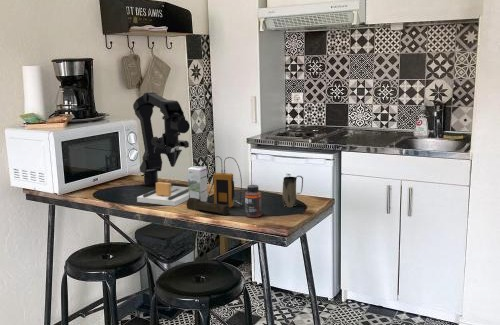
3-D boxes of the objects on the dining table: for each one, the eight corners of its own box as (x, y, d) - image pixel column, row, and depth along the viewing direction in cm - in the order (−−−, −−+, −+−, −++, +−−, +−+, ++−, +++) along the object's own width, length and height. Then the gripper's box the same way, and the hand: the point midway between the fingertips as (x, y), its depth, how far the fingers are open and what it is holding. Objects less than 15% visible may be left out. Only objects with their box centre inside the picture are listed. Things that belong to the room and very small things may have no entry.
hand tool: (230, 214, 190) (230, 202, 189) (224, 216, 186) (223, 204, 186) (191, 207, 200) (191, 195, 199) (184, 209, 197) (184, 197, 196)
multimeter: (248, 202, 205) (248, 153, 201) (240, 208, 195) (239, 157, 192) (215, 199, 209) (213, 151, 206) (205, 206, 200) (203, 156, 196)
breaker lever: (158, 193, 211) (158, 181, 210) (171, 194, 208) (170, 183, 208) (156, 194, 209) (155, 182, 208) (168, 196, 207) (168, 184, 206)
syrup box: (208, 201, 207) (207, 166, 204) (200, 205, 201) (199, 169, 199) (196, 200, 209) (194, 165, 206) (188, 203, 204) (187, 168, 201)
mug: (280, 206, 198) (280, 176, 195) (284, 202, 203) (284, 173, 200) (300, 208, 195) (300, 177, 193) (304, 204, 200) (304, 174, 198)
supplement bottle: (260, 213, 189) (260, 183, 187) (262, 217, 184) (262, 187, 181) (244, 213, 189) (244, 184, 187) (246, 218, 183) (245, 188, 181)
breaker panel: (166, 189, 227) (166, 182, 227) (201, 193, 220) (201, 185, 220) (137, 201, 207) (136, 194, 207) (175, 206, 200) (174, 198, 200)
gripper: (167, 127, 228) (168, 161, 231) (142, 132, 211) (144, 169, 214) (189, 128, 223) (189, 163, 226) (165, 134, 207) (166, 171, 210)
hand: (172, 166), depth 219 cm, fingers closed
